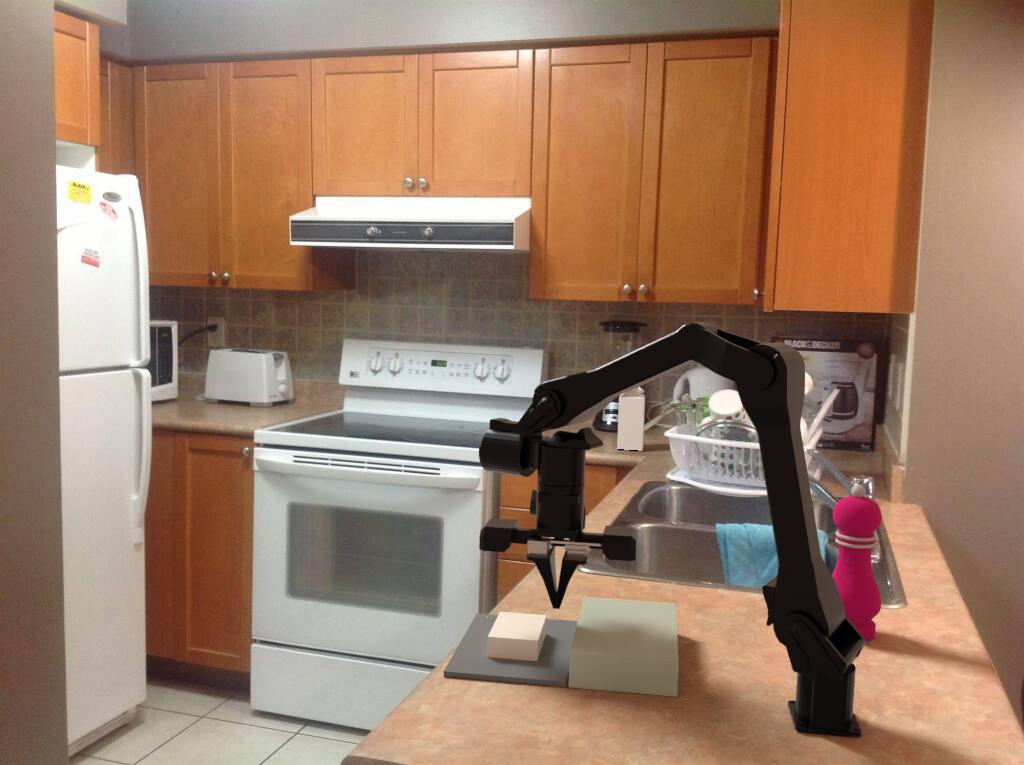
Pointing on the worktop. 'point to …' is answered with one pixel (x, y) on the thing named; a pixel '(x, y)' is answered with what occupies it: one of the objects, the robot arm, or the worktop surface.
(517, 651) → the tilted white rectangular prism
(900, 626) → the worktop surface
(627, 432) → the milk carton
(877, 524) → the pepper mill
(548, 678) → the mat
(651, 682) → the block
